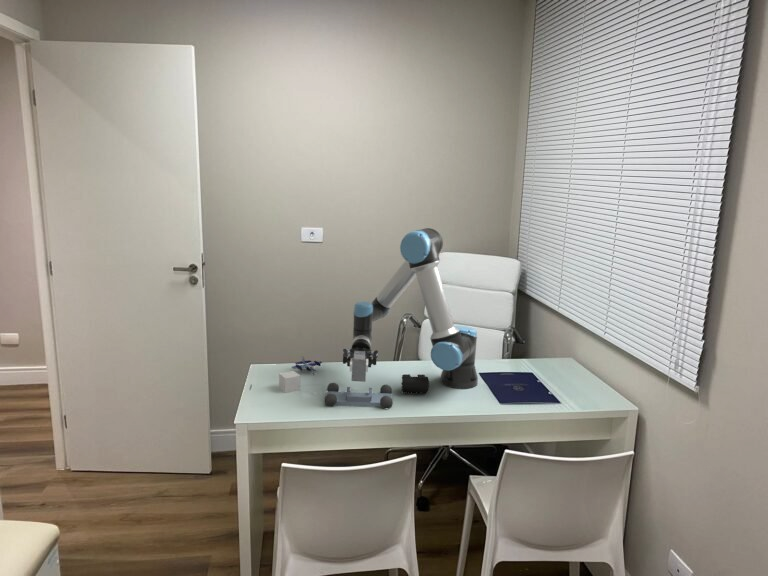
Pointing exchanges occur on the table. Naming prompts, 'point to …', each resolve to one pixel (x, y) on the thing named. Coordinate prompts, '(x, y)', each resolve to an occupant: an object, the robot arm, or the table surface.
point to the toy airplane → (307, 365)
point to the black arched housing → (415, 384)
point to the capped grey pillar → (359, 366)
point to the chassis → (358, 397)
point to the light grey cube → (289, 381)
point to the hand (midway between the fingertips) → (358, 368)
